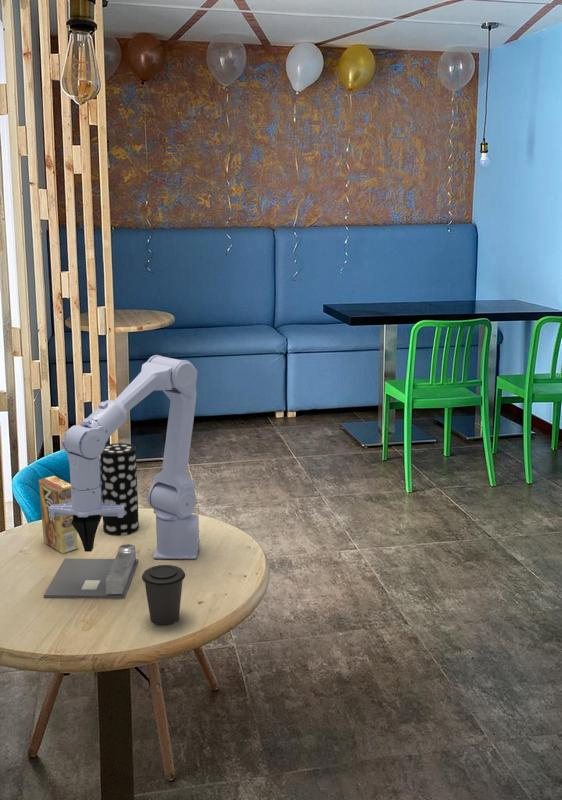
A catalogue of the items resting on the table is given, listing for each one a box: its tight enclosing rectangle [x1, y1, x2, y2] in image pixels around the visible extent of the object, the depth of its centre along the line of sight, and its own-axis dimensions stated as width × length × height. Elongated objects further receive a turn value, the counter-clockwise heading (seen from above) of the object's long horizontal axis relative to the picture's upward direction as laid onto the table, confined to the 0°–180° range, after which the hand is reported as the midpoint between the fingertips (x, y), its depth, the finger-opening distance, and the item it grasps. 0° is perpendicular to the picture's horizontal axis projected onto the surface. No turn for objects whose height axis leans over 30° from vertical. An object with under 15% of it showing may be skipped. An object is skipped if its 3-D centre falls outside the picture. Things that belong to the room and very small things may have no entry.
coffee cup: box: [141, 564, 186, 627], centre depth 160 cm, size 8×8×10 cm
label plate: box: [43, 558, 139, 599], centre depth 177 cm, size 16×17×1 cm
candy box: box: [38, 475, 79, 554], centre depth 191 cm, size 9×4×15 cm, turn 44°
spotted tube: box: [99, 442, 140, 537], centre depth 200 cm, size 8×8×20 cm
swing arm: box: [106, 543, 137, 594], centre depth 177 cm, size 17×4×3 cm, turn 0°
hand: (89, 549), depth 171 cm, fingers closed
